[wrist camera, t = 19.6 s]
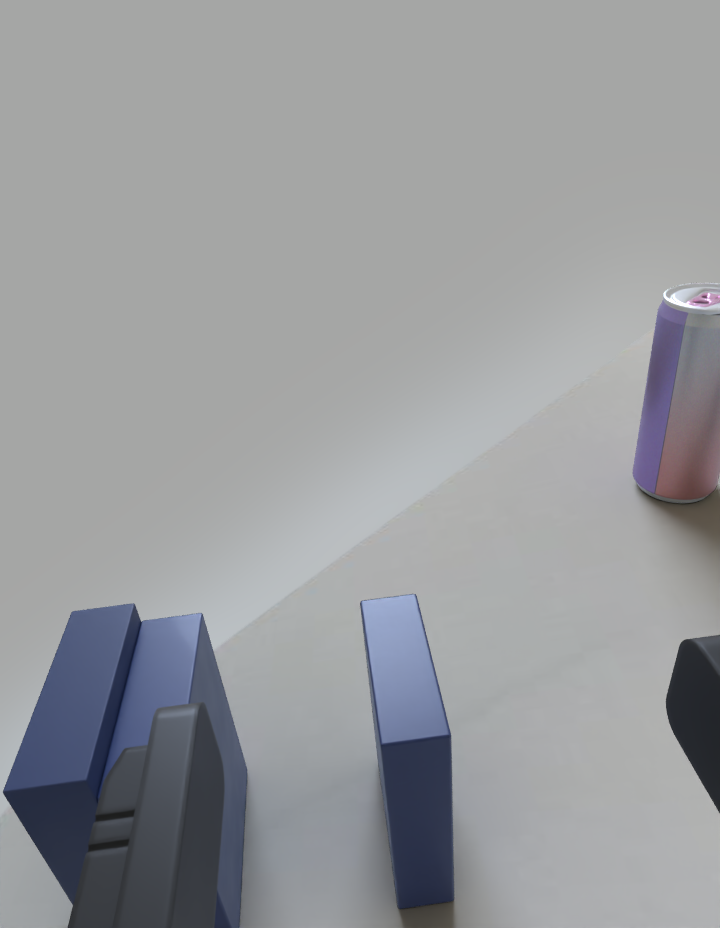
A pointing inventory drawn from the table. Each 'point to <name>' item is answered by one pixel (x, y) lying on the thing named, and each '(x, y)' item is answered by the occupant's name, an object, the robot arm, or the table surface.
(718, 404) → the beverage can
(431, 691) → the navy book
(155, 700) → the navy books
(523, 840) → the table surface
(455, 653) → the table surface
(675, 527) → the table surface
